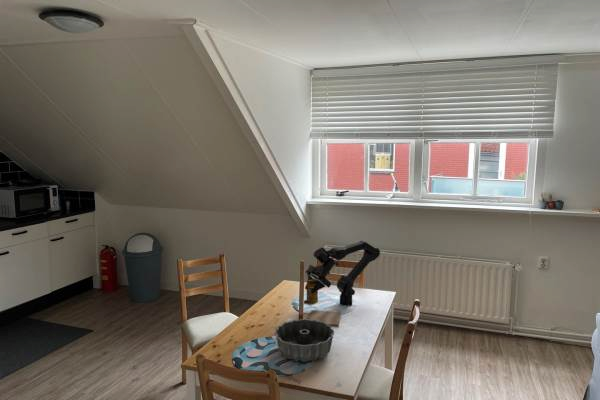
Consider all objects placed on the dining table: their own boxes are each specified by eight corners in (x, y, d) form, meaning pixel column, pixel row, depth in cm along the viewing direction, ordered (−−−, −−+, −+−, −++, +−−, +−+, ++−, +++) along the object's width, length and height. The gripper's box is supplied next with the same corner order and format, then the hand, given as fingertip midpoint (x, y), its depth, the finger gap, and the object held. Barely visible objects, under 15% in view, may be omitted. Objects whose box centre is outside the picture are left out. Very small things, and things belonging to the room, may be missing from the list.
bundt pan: (262, 351, 197) (262, 330, 195) (304, 333, 215) (304, 313, 213) (304, 375, 178) (304, 352, 177) (346, 352, 196) (346, 331, 195)
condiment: (321, 301, 240) (321, 280, 238) (310, 306, 234) (310, 284, 232) (311, 298, 245) (311, 277, 243) (300, 302, 239) (300, 281, 237)
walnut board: (340, 314, 237) (341, 311, 237) (338, 326, 222) (338, 324, 222) (311, 311, 240) (311, 309, 240) (307, 324, 224) (307, 322, 224)
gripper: (308, 254, 246) (290, 277, 242) (326, 263, 230) (307, 287, 226) (320, 266, 251) (303, 288, 247) (338, 275, 235) (321, 299, 231)
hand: (308, 290), depth 238 cm, fingers closed on condiment, 6 cm apart
